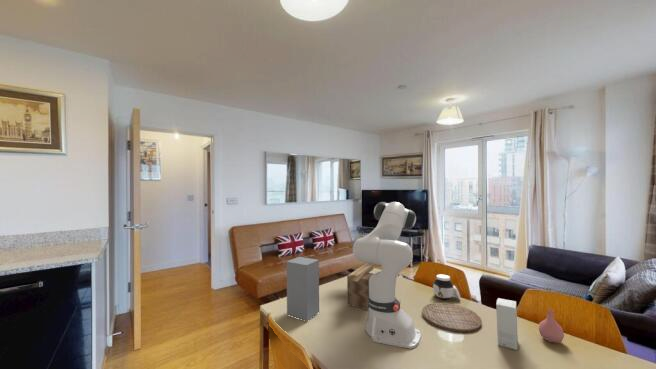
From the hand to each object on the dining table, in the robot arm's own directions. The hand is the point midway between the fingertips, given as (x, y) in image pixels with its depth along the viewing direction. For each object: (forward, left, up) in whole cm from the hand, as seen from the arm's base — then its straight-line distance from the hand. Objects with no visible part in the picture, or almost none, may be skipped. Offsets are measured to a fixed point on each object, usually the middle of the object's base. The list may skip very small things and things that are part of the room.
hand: (366, 235), depth 157 cm
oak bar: (-5, +19, -17) cm, 26 cm away
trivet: (-47, +13, -33) cm, 59 cm away
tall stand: (+15, +44, -32) cm, 57 cm away
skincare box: (-68, +23, -32) cm, 79 cm away
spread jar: (-43, -11, -33) cm, 55 cm away
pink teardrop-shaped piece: (-83, +13, -32) cm, 90 cm away
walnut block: (-5, +19, -32) cm, 38 cm away
